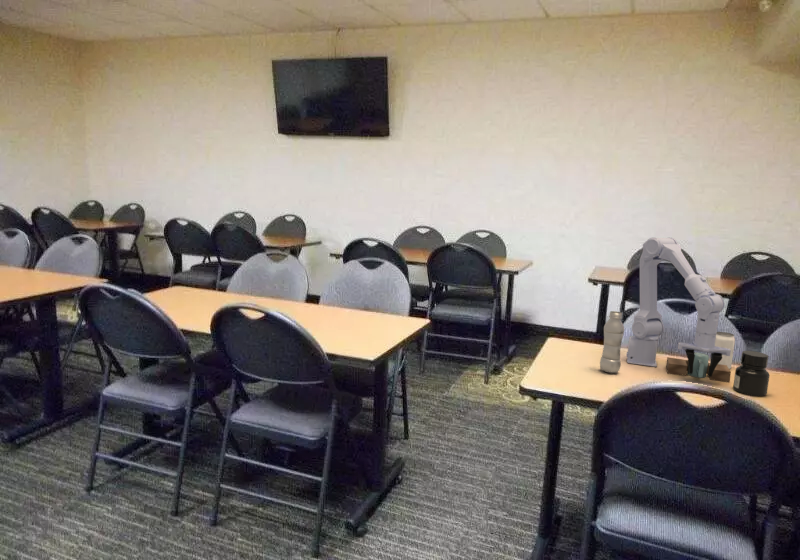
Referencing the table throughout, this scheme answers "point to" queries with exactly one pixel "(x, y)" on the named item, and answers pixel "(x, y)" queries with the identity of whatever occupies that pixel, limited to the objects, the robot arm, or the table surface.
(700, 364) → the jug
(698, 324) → the robot arm
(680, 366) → the rack
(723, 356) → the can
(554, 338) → the table surface
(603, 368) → the plastic bottle
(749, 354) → the ink bottle
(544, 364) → the table surface
